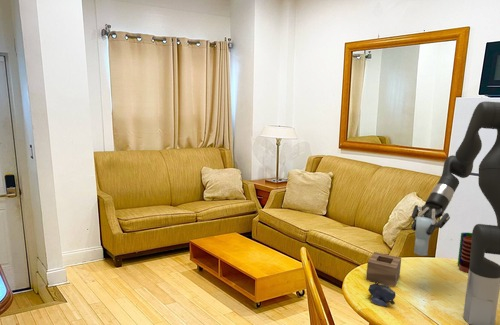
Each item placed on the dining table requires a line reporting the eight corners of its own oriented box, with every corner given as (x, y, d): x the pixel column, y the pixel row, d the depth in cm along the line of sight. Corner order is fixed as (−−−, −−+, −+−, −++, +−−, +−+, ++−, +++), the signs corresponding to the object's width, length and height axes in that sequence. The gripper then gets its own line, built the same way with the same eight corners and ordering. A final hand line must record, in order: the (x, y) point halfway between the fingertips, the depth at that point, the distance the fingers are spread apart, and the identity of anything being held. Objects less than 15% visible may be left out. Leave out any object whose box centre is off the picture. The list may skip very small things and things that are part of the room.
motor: (452, 267, 172) (457, 224, 168) (465, 264, 175) (471, 222, 172) (473, 276, 163) (479, 231, 159) (487, 273, 166) (493, 229, 163)
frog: (376, 291, 147) (378, 274, 146) (401, 304, 138) (403, 286, 137) (361, 297, 142) (362, 279, 141) (386, 311, 133) (387, 292, 132)
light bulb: (427, 257, 146) (431, 222, 144) (412, 254, 149) (415, 219, 147) (428, 252, 151) (432, 218, 149) (414, 249, 154) (417, 215, 151)
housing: (394, 287, 151) (396, 268, 149) (366, 280, 156) (367, 261, 155) (399, 275, 161) (401, 257, 160) (372, 269, 166) (374, 251, 165)
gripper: (420, 188, 156) (400, 221, 151) (455, 196, 145) (435, 231, 140) (425, 199, 160) (406, 231, 155) (461, 207, 149) (441, 242, 144)
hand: (420, 231), depth 147 cm, fingers closed on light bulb, 5 cm apart
